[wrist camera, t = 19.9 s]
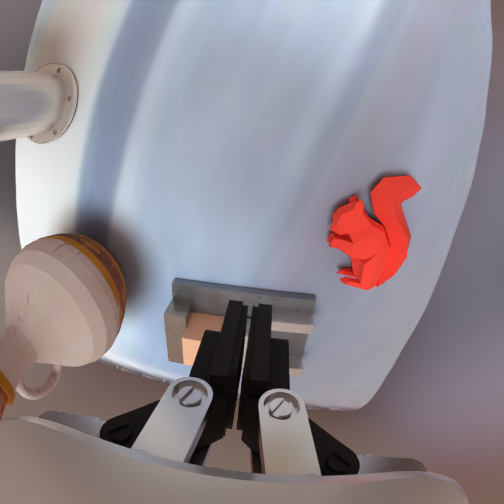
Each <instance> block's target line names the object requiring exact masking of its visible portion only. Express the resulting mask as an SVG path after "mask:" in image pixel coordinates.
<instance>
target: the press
mask: <svg viewBox="0 0 504 504" xmlns="http://www.w3.org/2000/svg"><path fill="white" fill-rule="evenodd" d="M172 293H173V299H172V300H171V302H170V304H169V306H168V308H167V309H166V311H165V313H164V320H165V330H166V340H167V349H168V358H169V361H171V362H176V363H182V364H184V360H183V347H182V337H183V334H184V332H185V330H186V327H187V325H188V322H189V320H190V318H191V316H192V313H193V312H194V313H201V314H208V315H215V316H222V317H225V314H226V310H227V306H228V303H229V300H236V301H243V305H247V306H248V315H247V318H248V319H251V315H252V308H253V306H255V307H258V305H259V303H261V304H270V305H272V326H271V338H278V339H288V340H289V375H295V376H301V374H302V370H303V365H302V354H303V350H304V346H305V342H306V338H307V334H313V330H314V326H315V325H314V318H313V309H314V305H315V295H310V294H300V293H291V292H282V291H273V290H264V289H255V288H247V287H238V286H230V285H222V284H214V283H207V282H199V281H192V280H185V279H177V278H175V279H174V281H173V283H172Z"/></svg>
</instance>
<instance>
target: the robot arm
mask: <svg viewBox="0 0 504 504" xmlns="http://www.w3.org/2000/svg"><path fill="white" fill-rule="evenodd" d="M77 96H78V95H77V84H76V80H75V78H74V75H73V74H72V72H71V71H70V70H69V69H68V68H67V67H66V66H63V65H61V64H48V65H45V66H43V67H42V68H40V69H39V70H37V71H36V72H30V71H11V70H0V142H1V141H5V140H10V139H16V138H21V137H26V136H27V137H28V138H29V139H30V140H31V141H33V142H35V143H39V144H44V143H49V142H52V141H54V140H56V139H57V138H59V137H60V136H61V135H62V134H63V133H64V132H65V130H66V129H67V127H68V126H69V124H70V122H71V120H72V118H73V115H74V113H75V109H76V105H77ZM247 315H248V306H247V305H243V301H236V300H229V303H228V306H227V310H226V314H225V317H224V321H223V325H222V328H221V332H220V331H213V330H205V331H204V334H203V337H202V340H201V343H200V346H199V348H198V351H197V354H196V357H195V360H194V363H193V366H192V369H191V372H190V375H189V377H183V378H180V379H177V380H176V381H174V382H172V383H171V385H170V386H169V387H168V389H167V391H166V392H165V394H164V395H163V397H162V398H161V399H160V400H158V401H156V402H153V403H151V404H148V405H146V406H143V407H140V408H138V409H135V410H133V411H130V412H127V413H125V414H122V415H119V416H117V417H114V418H112V419H110V420H108V421H101V419H100V418H95V417H89V416H82V415H76V414H70V413H65V412H59V411H52V410H49V411H46V412H44V413H42V414H41V415H40V416H39V418H37V417H30V416H9V417H6V418H3V419H2V420H0V504H469V503H468V500H467V498H466V496H465V494H464V492H463V490H462V488H461V487H460V485H459V484H458V483H457V482H456V481H454V480H453V479H451V478H449V477H446V476H443V475H440V474H435V473H431V472H427V471H426V467H425V466H424V465H423V463H422V462H420V461H419V460H416V459H411V458H398V457H387V456H377V455H370V454H364V455H363V456H359V455H356V454H355V453H354V452H353V451H352V450H350V449H349V448H348V447H346V446H345V445H343V444H342V443H341V442H339V441H338V440H337V439H335V438H334V437H332V436H331V435H330V434H329V433H327V432H326V431H325V430H323V429H322V428H321V427H319V426H318V425H317V424H316V423H314V422H313V421H312V420H310V419H309V418H308V417H307V412H306V408H305V404H304V402H303V400H302V398H301V397H300V396H299V395H298V394H296V393H294V392H293V391H290V382H289V340H288V339H278V338H271V326H272V305H270V304H261V303H259V305H258V307H255V306H253V308H252V315H251V321H250V328H249V335H248V342H247V348H246V355H245V362H244V368H243V375H242V383H241V393H240V402H239V412H238V422H237V430H243V431H242V441H243V442H244V443H245V444H246V445H247V446H248V447H249V448H250V464H251V473H248V472H239V471H231V470H223V469H217V468H211V467H205V464H206V462H207V459H208V457H209V455H210V452H211V450H212V447H213V443H214V442H216V441H218V440H219V439H221V438H223V436H225V432H226V428H229V429H232V426H233V419H234V413H235V407H236V400H237V395H238V388H239V382H240V376H241V369H242V363H243V355H244V345H245V335H246V325H247Z"/></svg>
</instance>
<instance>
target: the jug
mask: <svg viewBox="0 0 504 504" xmlns="http://www.w3.org/2000/svg"><path fill="white" fill-rule="evenodd" d="M5 304H6V331H5V333H4V335H3V336H2V337H1V338H0V420H1V418H2V415H3V411H4V409H5V406H6V405H9V406H11V405H12V403H13V400H14V398H15V390H17V391H18V392H19V393H20V394H21V395H22V396H23V397H25V398H27V399H38V398H42V397H44V396H45V395H47V394H49V393H50V392H51V390H53V389H54V387H55V386H56V384H57V383H58V381H59V379H60V377H61V374H62V370H63V369H62V368H63V366H81V365H85V364H88V363H91V362H95V361H96V360H98V359H99V358H101V357H102V356H103V355H104V354H105V353H106V352H107V351H108V350H109V349H110V348H111V347H112V345H113V343H114V341H115V339H116V337H117V335H118V333H119V331H120V328H121V324H122V321H123V317H124V313H125V305H126V285H125V281H124V277H123V274H122V271H121V269H120V266H119V264H118V262H117V260H116V259H115V257H114V256H113V254H112V253H111V252H110V251H109V250H108V249H107V248H106V247H104V246H103V245H101V244H100V243H98V242H96V241H95V240H93V239H91V238H89V237H86V236H84V235H80V234H56V235H51V236H47V237H43V238H40V239H38V240H36V241H34V242H32V243H30V244H28V245H26V246H25V247H24V248H23V249H22V250H21V251H20V252H19V254H18V255H17V256H16V257H15V258H14V259H13V261H12V263H11V265H10V268H9V271H8V274H7V278H6V281H5ZM34 362H36V363H50V364H54V367H53V371H52V373H51V375H50V377H49V378H48V380H47V381H46V382H45V383H44V384H43V385H42V386H40V387H38V388H34V389H30V388H27V387H26V386H25V385H24V383H23V378H22V376H23V374H24V373H25V371H26V370H27V368H28V367H29V366H30V365H31V364H32V363H34Z"/></svg>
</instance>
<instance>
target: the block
mask: <svg viewBox="0 0 504 504" xmlns="http://www.w3.org/2000/svg"><path fill="white" fill-rule="evenodd" d="M223 321H224V317H222V316H215V315H208V314H201V313H194V312H193V313H192V316H191V318H190V320H189V322H188V325H187V327H186V330H185V332H184V334H183V337H182V347H183V360H184V364H185V365H190V366H193V363H194V360H195V357H196V354H197V351H198V348H199V346H200V343H201V340H202V337H203V334H204V331H205V330H213V331H220V332H221V328H222V325H223Z"/></svg>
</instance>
